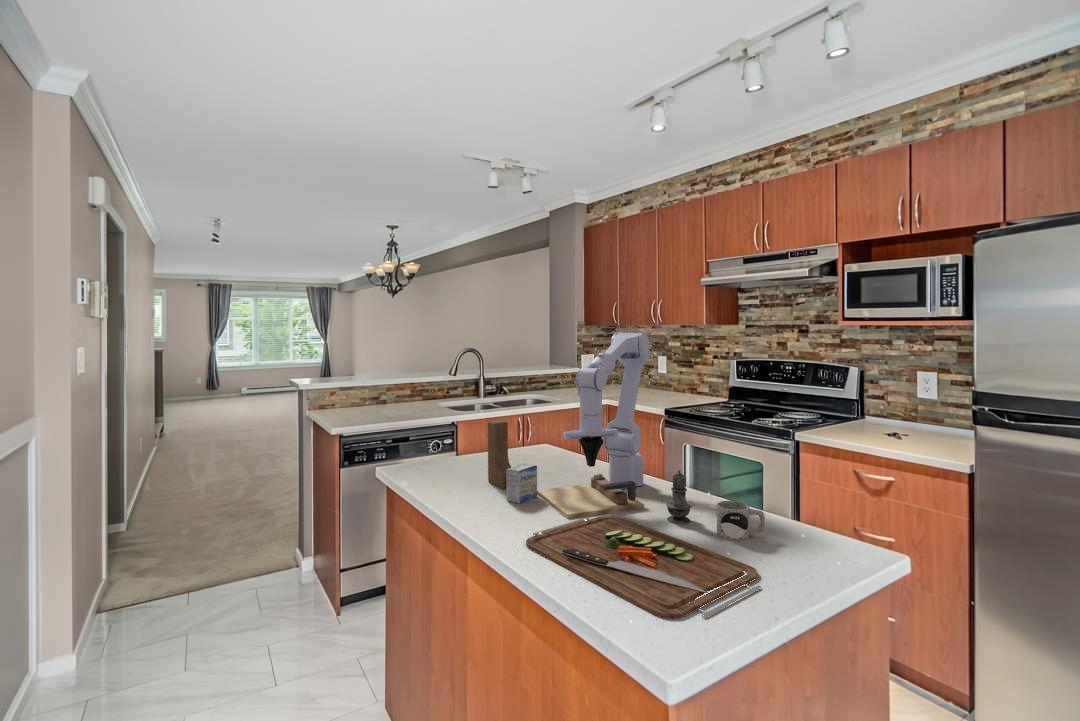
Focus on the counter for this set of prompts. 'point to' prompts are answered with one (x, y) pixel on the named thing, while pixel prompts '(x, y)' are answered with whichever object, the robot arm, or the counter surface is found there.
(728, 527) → the mug
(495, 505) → the counter surface
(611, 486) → the bar
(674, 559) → the chopping board
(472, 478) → the counter surface
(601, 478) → the link
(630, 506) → the oak board
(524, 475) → the medicine box
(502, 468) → the wooden block
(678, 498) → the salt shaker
